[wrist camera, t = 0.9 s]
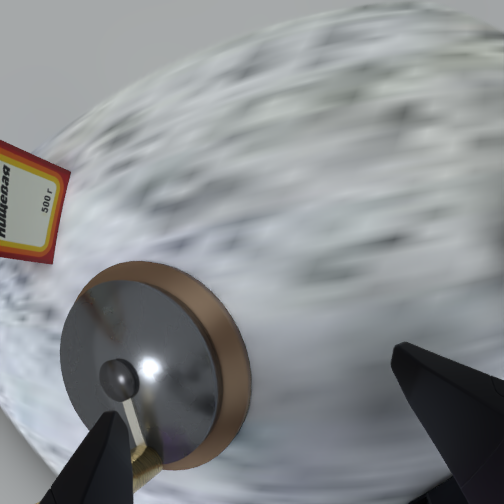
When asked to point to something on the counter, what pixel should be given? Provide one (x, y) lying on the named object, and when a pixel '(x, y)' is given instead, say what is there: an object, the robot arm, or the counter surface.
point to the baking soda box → (29, 205)
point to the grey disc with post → (142, 370)
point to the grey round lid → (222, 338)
